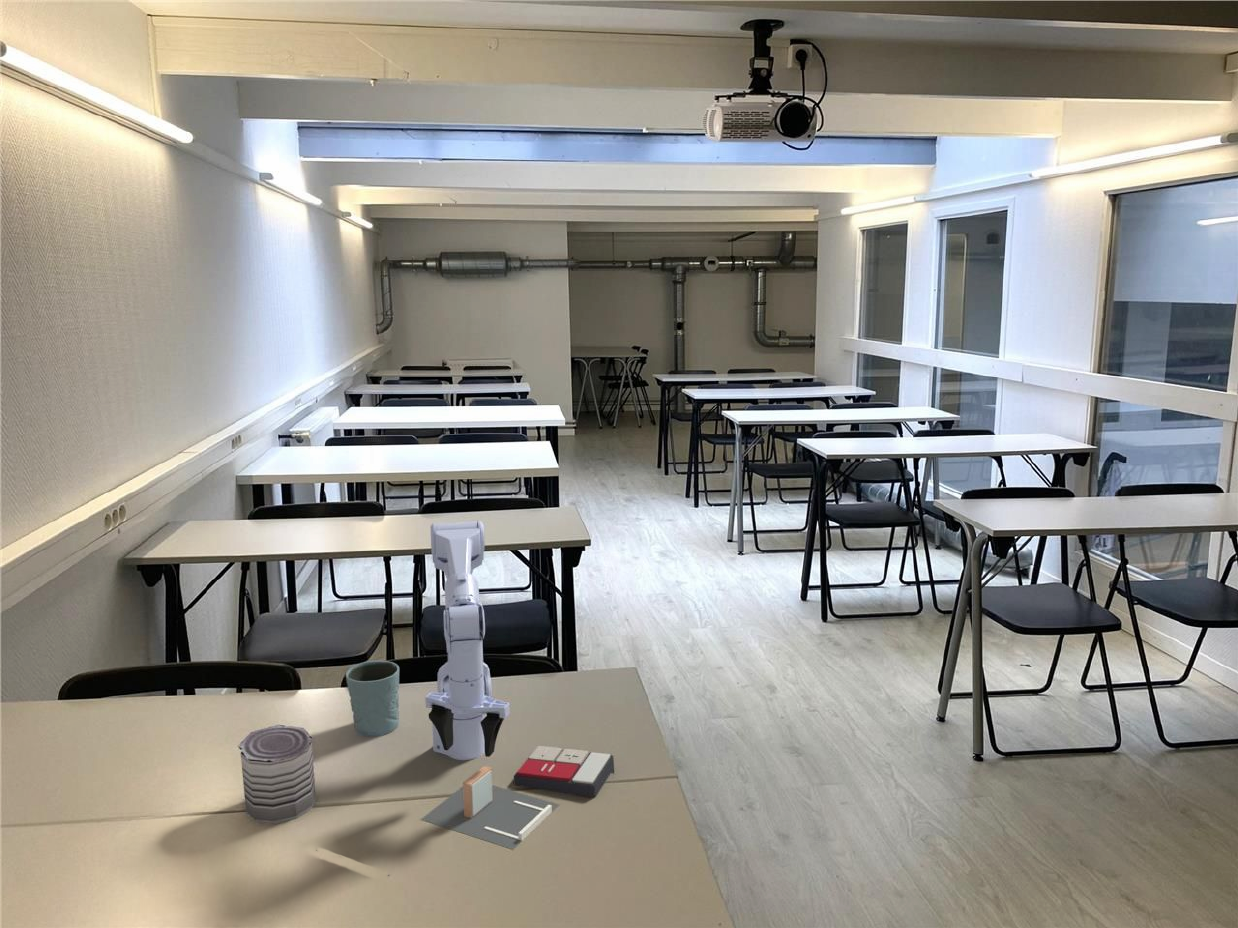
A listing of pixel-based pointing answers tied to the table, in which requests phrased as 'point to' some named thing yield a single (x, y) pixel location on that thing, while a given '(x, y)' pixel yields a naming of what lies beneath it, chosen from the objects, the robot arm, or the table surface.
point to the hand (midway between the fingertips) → (469, 750)
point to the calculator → (565, 771)
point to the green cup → (374, 697)
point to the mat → (494, 816)
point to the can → (278, 773)
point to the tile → (477, 791)
